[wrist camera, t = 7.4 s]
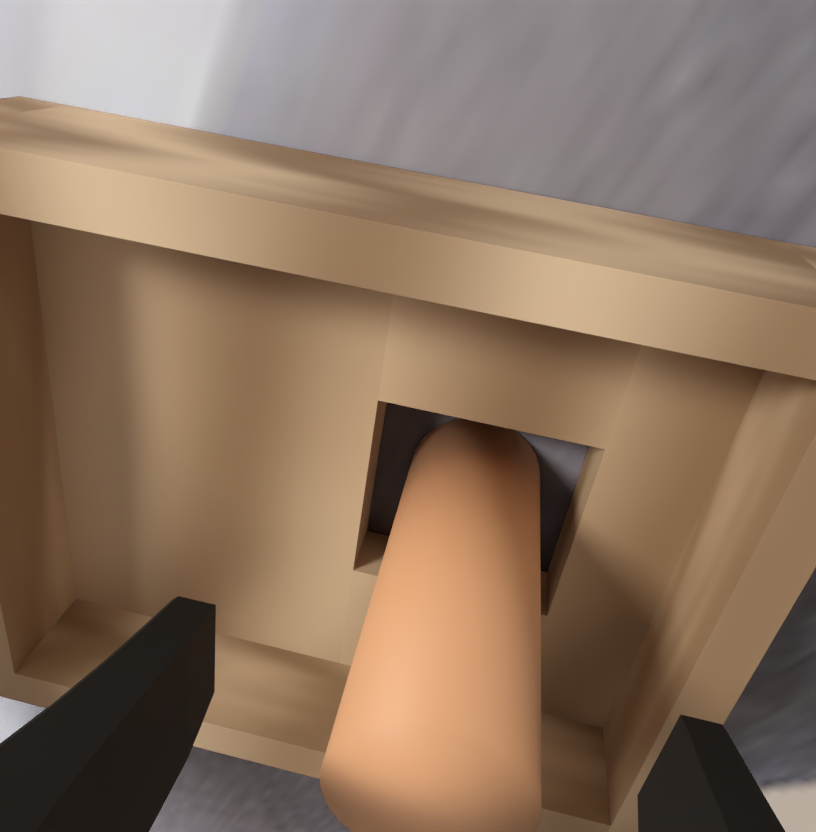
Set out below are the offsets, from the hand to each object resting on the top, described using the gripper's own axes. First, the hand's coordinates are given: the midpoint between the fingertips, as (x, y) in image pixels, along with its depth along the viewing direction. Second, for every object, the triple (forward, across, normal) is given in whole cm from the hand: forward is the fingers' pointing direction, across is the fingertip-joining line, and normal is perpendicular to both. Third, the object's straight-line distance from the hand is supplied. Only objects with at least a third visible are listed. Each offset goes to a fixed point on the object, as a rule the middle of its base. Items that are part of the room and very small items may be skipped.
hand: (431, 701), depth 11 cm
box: (+6, +2, 0) cm, 7 cm away
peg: (+6, 0, 0) cm, 6 cm away
